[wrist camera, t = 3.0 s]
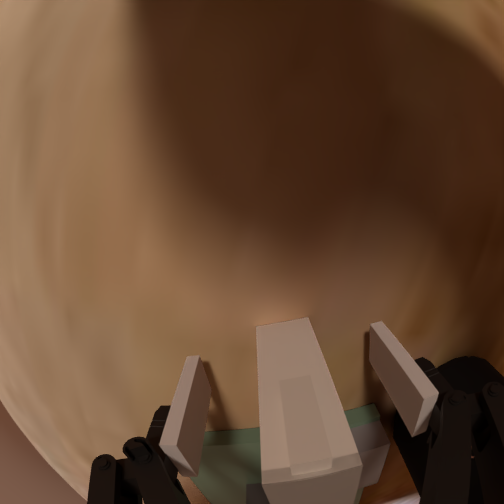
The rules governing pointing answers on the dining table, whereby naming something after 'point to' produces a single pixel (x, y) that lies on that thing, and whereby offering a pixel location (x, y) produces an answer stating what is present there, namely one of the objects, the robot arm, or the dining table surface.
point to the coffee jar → (416, 448)
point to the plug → (302, 421)
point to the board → (249, 459)
